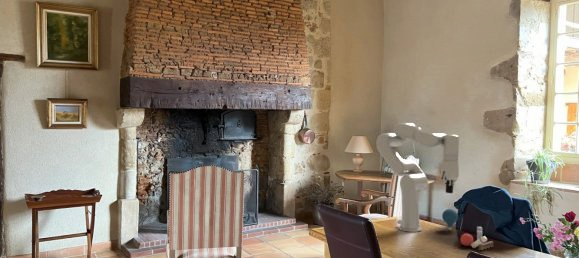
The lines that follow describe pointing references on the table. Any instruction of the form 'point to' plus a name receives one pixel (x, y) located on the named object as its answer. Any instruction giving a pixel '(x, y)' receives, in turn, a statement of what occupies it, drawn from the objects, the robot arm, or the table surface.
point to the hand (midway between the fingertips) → (449, 192)
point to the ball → (466, 239)
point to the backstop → (486, 245)
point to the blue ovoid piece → (450, 217)
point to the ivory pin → (479, 242)
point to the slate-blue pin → (479, 233)
